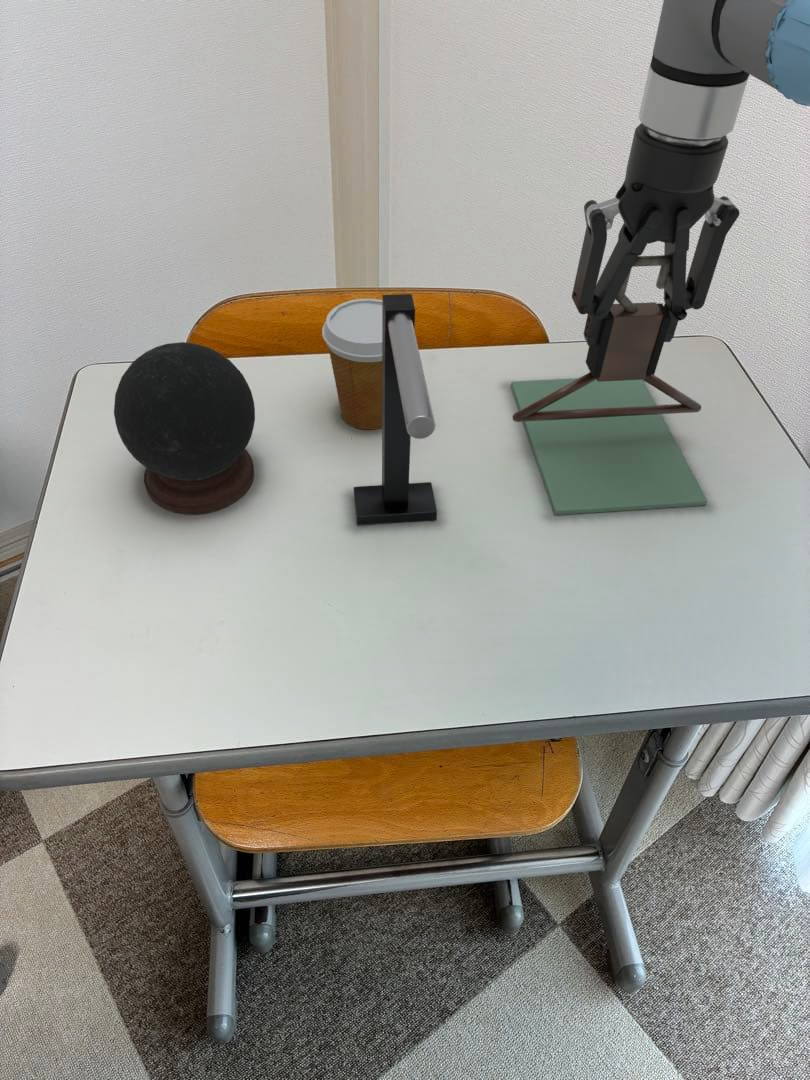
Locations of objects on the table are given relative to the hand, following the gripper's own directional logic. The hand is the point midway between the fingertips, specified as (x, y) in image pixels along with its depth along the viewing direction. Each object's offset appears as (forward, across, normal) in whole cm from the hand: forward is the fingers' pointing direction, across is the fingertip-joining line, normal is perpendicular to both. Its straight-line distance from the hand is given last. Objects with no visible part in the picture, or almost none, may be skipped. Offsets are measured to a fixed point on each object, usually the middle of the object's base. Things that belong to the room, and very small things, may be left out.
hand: (619, 367), depth 82 cm
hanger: (+6, 0, 0) cm, 6 cm away
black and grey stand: (+10, +24, +15) cm, 30 cm away
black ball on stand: (+10, +44, +2) cm, 45 cm away
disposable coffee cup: (+10, +25, -7) cm, 28 cm away
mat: (+10, 0, 0) cm, 10 cm away
